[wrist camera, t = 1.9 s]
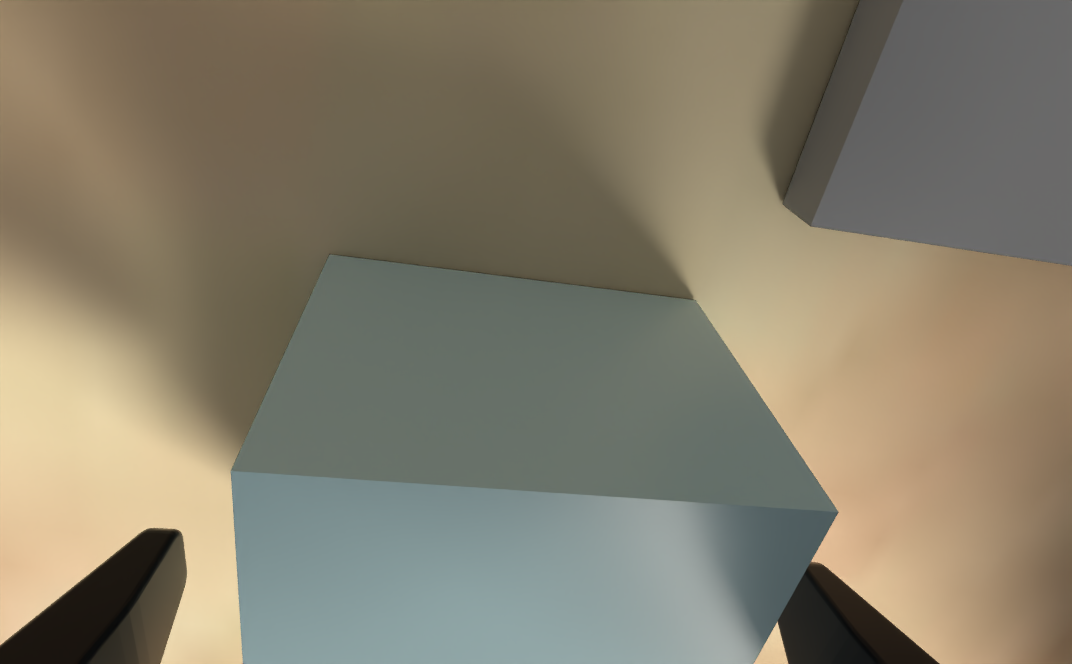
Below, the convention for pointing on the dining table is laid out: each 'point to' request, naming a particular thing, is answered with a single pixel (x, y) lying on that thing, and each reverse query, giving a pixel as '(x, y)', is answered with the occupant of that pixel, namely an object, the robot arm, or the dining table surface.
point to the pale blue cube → (513, 480)
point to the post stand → (947, 128)
